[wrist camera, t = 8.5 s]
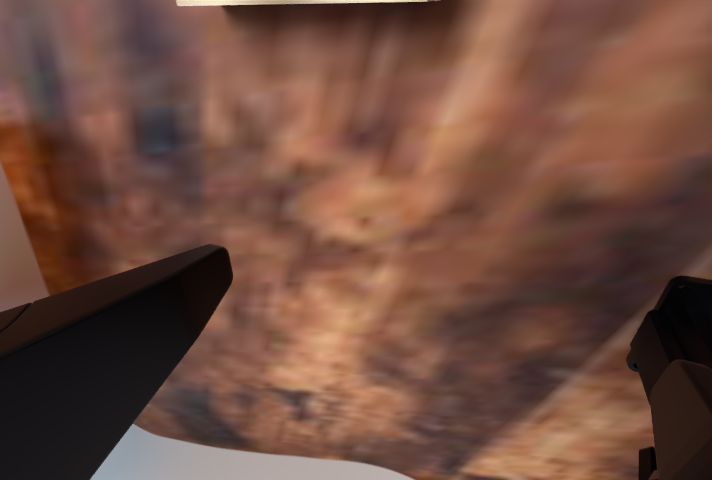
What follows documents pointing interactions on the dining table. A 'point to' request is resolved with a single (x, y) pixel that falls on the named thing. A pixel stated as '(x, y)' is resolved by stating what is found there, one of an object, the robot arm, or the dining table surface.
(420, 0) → the frame
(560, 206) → the dining table surface
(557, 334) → the dining table surface
